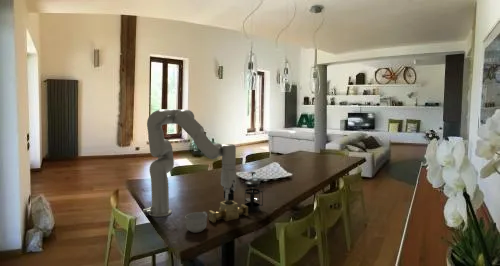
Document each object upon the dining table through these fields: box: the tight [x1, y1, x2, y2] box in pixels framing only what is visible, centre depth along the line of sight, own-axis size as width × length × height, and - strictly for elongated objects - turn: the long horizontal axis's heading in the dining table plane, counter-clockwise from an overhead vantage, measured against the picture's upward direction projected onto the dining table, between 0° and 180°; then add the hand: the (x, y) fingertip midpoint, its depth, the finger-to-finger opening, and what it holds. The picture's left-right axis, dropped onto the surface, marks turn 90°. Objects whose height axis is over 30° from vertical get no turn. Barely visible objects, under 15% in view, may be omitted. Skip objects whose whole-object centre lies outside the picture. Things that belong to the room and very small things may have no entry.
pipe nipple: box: [224, 186, 233, 205], centre depth 186 cm, size 4×4×12 cm
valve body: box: [208, 200, 249, 224], centre depth 186 cm, size 22×8×8 cm, turn 123°
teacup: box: [184, 211, 209, 234], centre depth 169 cm, size 14×11×8 cm
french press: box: [244, 171, 264, 213], centre depth 199 cm, size 12×9×23 cm
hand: (228, 198), depth 186 cm, fingers closed on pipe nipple, 4 cm apart
